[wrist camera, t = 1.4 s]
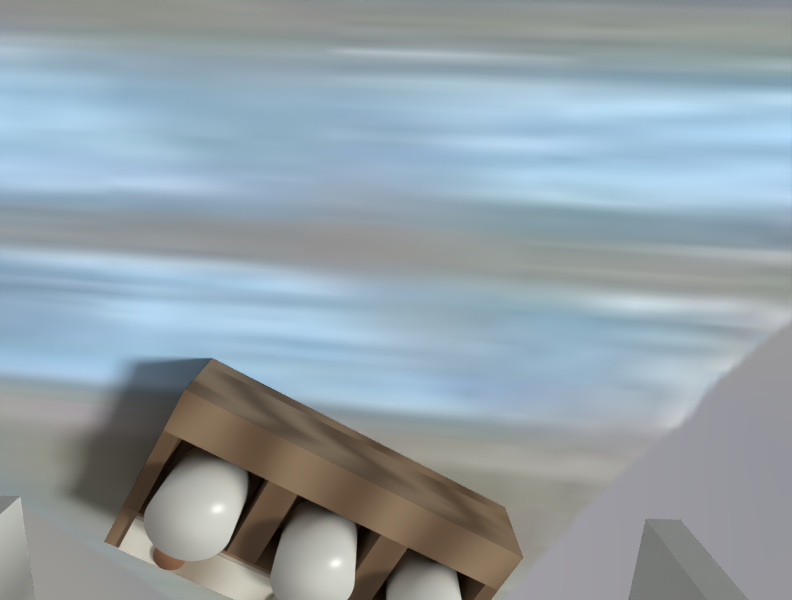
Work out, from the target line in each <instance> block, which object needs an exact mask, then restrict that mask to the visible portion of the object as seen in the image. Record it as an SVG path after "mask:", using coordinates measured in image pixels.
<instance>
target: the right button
mask: <svg viewBox="0 0 792 600" xmlns="http://www.w3.org/2000/svg"><path fill="white" fill-rule="evenodd" d="M386 600H462V599H461V593H460V588H459V583H458V577H457V572H456V570H454V569H452V568H450V567H448V566H446V565H444V564H442V563H439V562H437V561H435V560H433V559H431V558H429V557H427V556H425V555H423V554H421V553H419V552H417V551H414V550H412V549H411V550H408V551H405V553H404V554H403V556H402V557H401V558H400V560H399V561H398V563H397V564H396V566H395V567H394V568H393V570H392V571H391V573H390V574H389V576H388V577H387V578H386Z"/></svg>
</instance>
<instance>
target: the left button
mask: <svg viewBox="0 0 792 600" xmlns="http://www.w3.org/2000/svg"><path fill="white" fill-rule="evenodd" d="M250 488H251V474H250V471H247V470H245V469H243V468H241V467H239V466H237V465H235V464H233V463H231V462H229V461H227V460H225V459H222V458H220V457H218V456H216V455H214V454H212V453H210V452H208V451H206V450H204V449H202V448H199V447H196V448H194V449H191V450H189V451H188V452H186V453H185V454H184V455H183V456H182V457H181V458H180V459H179V461H178V462H177V464H176V465H175V467H174V468H173V469H172V471H171V472H170V474H169V475H168V477H167V478H166V480H165V481H164V482H163V484H162V485H161V487H160V488H159V490H158V491H157V493H156V494H155V496H154V497H153V498H152V500H151V501H150V503H149V504H148V506H147V508H146V510H145V514H144V528H145V531H146V534H147V536H148V538H149V540H150V541H151V542H152V544H153V545H154V546H155V547H156V548H157V549H159V550H160V551H161V552H163V553H164V554H166V555H168V556H170V557H173V558H175V559H179V560H184V561H200V560H204V559H208V558H210V557H213V556H215V555H216V554H218V553H219V552H220V551H222V550H223V549H224V548H225V547H226V545H227V544H228V542H229V540H230V538H231V536H232V533H233V531H234V528H235V526H236V523H237V521H238V518H239V516H240V514H241V511H242V509H243V506H244V504H245V501H246V499H247V496H248V494H249V491H250Z"/></svg>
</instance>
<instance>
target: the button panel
mask: <svg viewBox="0 0 792 600" xmlns="http://www.w3.org/2000/svg"><path fill="white" fill-rule="evenodd" d="M196 447H199V448H202V449H204V450H206V451H208V452H210V453H212V454H214V455H216V456H218V457H220V458H222V459H225V460H227V461H229V462H231V463H233V464H235V465H237V466H239V467H241V468H243V469H245V470H247V471H250V474H251V488H250V491H249V494H248V496H247V499H246V501H245V504H244V506H243V509H242V511H241V514H240V516H239V518H238V521H237V523H236V526H235V528H234V531H233V533H232V536H231V538H230V540H229V542H228V544H227V545H226V547H225V548H224V549H223V550H222V551H220V552H219V553H218V554H216V555H215V556H213V557H210V558H208V559H204V560H200V561H184V560H179V559H175V558H173V557H170V556H168V555H166V554H164V553H163V552H161V551H160V550H159V549H157V548H156V547H155V546H154V545H153V544H152V542H151V541H150V540H149V538H148V536H147V534H146V531H145V528H144V514H145V510H146V508H147V506H148V504H149V503H150V501H151V500H152V498H153V497H154V496H155V494H156V493H157V491H158V490H159V488H160V487H161V485H162V484H163V482H164V481H165V480H166V478H167V477H168V475H169V474H170V472H171V471H172V469H173V468H174V467H175V465H176V464H177V462H178V461H179V459H180V458H181V457H182V456H183V455H184V454H185V453H186V452H188V451H189V450H191V449H194V448H196ZM307 500H310V501H312V502H314V503H316V504H318V505H321V506H323V507H325V508H327V509H329V510H331V511H333V512H335V513H337V514H339V515H341V516H343V517H346V518H348V519H350V520H352V521H354V522H356V523H357V526H358V535H357V550H356V566H355V581H354V588H353V591H352V593H351V595H350V597H349V598H348V599H347V600H386V578H387V577H388V576H389V574H390V573H391V571H392V570H393V568H394V567H395V566H396V564H397V563H398V561H399V560H400V558H401V557H402V556H403V554H404V553H405V551H408V550H411V549H412V550H414V551H417V552H419V553H421V554H423V555H425V556H427V557H429V558H431V559H433V560H435V561H437V562H439V563H442V564H444V565H446V566H448V567H450V568H452V569H454V570H456V572H457V577H458V583H459V588H460V593H461V599H462V600H491V599H492V598H493V596H494V595H495V594H496V592H497V591H498V590H499V588H500V587H501V586H502V585H503V583H504V582H505V581H506V579H507V578H508V577H509V575H510V574H511V573H512V572H513V570H514V569H515V568H516V566H517V565H518V564H519V562H520V561H521V560H522V559H523V556H522V553H521V550H520V548H519V545H518V542H517V539H516V537H515V534H514V531H513V528H512V526H511V523H510V520H509V517H508V515H507V512H506V509H505V507H503V506H501V505H499V504H497V503H495V502H493V501H491V500H489V499H487V498H485V497H483V496H481V495H479V494H477V493H475V492H473V491H471V490H469V489H467V488H465V487H463V486H461V485H460V484H458V483H456V482H454V481H452V480H450V479H448V478H446V477H444V476H442V475H440V474H438V473H436V472H434V471H432V470H430V469H428V468H426V467H424V466H422V465H420V464H418V463H416V462H415V461H413V460H411V459H409V458H407V457H405V456H403V455H401V454H399V453H397V452H395V451H393V450H391V449H389V448H387V447H385V446H383V445H381V444H379V443H377V442H375V441H373V440H371V439H370V438H368V437H366V436H364V435H362V434H360V433H358V432H356V431H354V430H352V429H350V428H348V427H346V426H344V425H342V424H340V423H338V422H336V421H334V420H332V419H330V418H328V417H326V416H325V415H323V414H321V413H319V412H317V411H315V410H313V409H311V408H309V407H307V406H305V405H303V404H301V403H299V402H297V401H295V400H293V399H291V398H289V397H287V396H285V395H283V394H281V393H280V392H278V391H276V390H274V389H272V388H270V387H268V386H266V385H264V384H262V383H260V382H258V381H256V380H254V379H252V378H250V377H248V376H246V375H244V374H242V373H240V372H238V371H236V370H235V369H233V368H231V367H229V366H227V365H225V364H223V363H221V362H219V361H217V360H215V359H213V358H212V359H211V360H210V361H209V363H208V364H207V365H206V366H205V367H204V368H203V369H202V371H201V372H200V373H199V374H198V375H197V376H196V377H195V378H194V380H193V381H192V382H191V383H190V384H189V385H188V386H187V388H186V389H185V390H184V392H183V394H182V395H181V397H180V399H179V401H178V403H177V405H176V407H175V409H174V411H173V412H172V414H171V416H170V418H169V420H168V422H167V424H166V426H165V428H164V430H163V431H162V433H161V435H160V437H159V439H158V441H157V443H156V445H155V447H154V448H153V450H152V452H151V454H150V456H149V458H148V460H147V462H146V464H145V465H144V467H143V469H142V471H141V473H140V475H139V477H138V479H137V481H136V482H135V484H134V486H133V488H132V490H131V492H130V494H129V496H128V498H127V499H126V501H125V503H124V505H123V507H122V509H121V511H120V513H119V515H118V517H117V518H116V520H115V522H114V524H113V526H112V528H111V530H110V532H109V534H108V535H107V537H106V539H105V541H104V542H106V543H109V544H111V545H113V546H116V547H118V549H119V550H121V551H123V552H126V553H128V554H130V555H133V556H135V557H137V558H139V559H142V560H144V561H146V562H149V563H151V564H153V565H156V566H158V567H160V568H162V569H165V570H167V571H169V572H172V573H174V574H176V575H179V576H181V577H183V578H186V579H188V580H190V581H192V582H195V583H197V584H199V585H202V586H204V587H206V588H209V589H211V590H213V591H216V592H218V593H220V594H222V595H225V596H227V597H229V598H232V599H234V600H278V599H277V598H276V596H275V595H274V593H273V591H272V588H271V583H270V575H271V571H272V567H273V563H274V560H275V556H276V552H277V549H278V545H279V541H280V538H281V534H282V530H283V527H284V523H285V520H286V517H287V516H288V514H289V513H290V511H291V510H292V509H293V508H294V507H296V506H297V505H298V504H300V503H302V502H304V501H307Z"/></svg>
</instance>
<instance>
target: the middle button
mask: <svg viewBox="0 0 792 600" xmlns="http://www.w3.org/2000/svg"><path fill="white" fill-rule="evenodd" d="M357 535H358V526H357V523H356V522H354V521H352V520H350V519H348V518H346V517H343V516H341V515H339V514H337V513H335V512H333V511H331V510H329V509H327V508H325V507H323V506H321V505H318V504H316V503H314V502H312V501H310V500H307V501H304V502H302V503H300V504H298V505H297V506H296V507H294V508H293V509H292V510H291V511H290V513H289V514H288V516H287V517H286V520H285V523H284V527H283V530H282V534H281V538H280V541H279V545H278V549H277V552H276V556H275V560H274V563H273V567H272V571H271V575H270V583H271V588H272V591H273V593H274V595H275V596H276V598H277V599H278V600H347V599H348V598H349V597H350V595H351V593H352V591H353V588H354V581H355V566H356V550H357Z"/></svg>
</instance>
